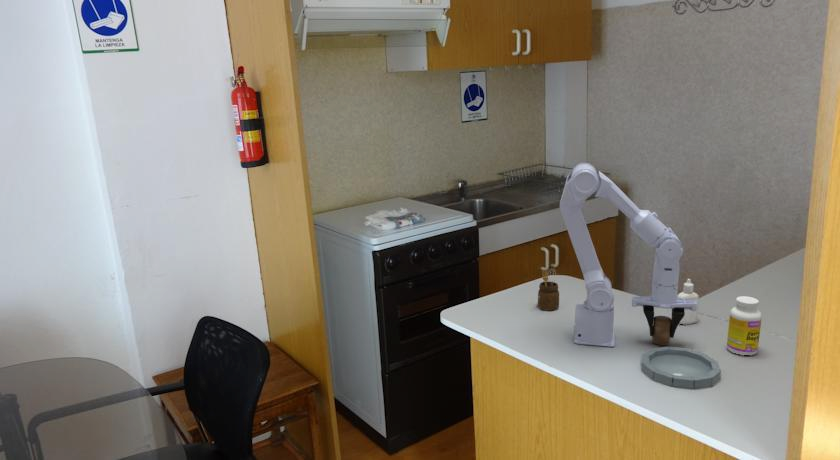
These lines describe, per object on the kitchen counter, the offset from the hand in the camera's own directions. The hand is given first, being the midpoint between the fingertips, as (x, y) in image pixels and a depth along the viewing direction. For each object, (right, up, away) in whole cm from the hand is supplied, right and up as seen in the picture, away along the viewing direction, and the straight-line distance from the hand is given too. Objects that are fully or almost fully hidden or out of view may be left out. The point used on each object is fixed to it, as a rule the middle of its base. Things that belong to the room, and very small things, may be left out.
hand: (661, 335), depth 156 cm
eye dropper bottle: (+11, +1, +12) cm, 17 cm away
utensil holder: (-23, +4, +25) cm, 34 cm away
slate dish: (-1, -6, -13) cm, 14 cm away
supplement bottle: (+17, -3, -5) cm, 18 cm away
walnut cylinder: (0, -2, 0) cm, 2 cm away
